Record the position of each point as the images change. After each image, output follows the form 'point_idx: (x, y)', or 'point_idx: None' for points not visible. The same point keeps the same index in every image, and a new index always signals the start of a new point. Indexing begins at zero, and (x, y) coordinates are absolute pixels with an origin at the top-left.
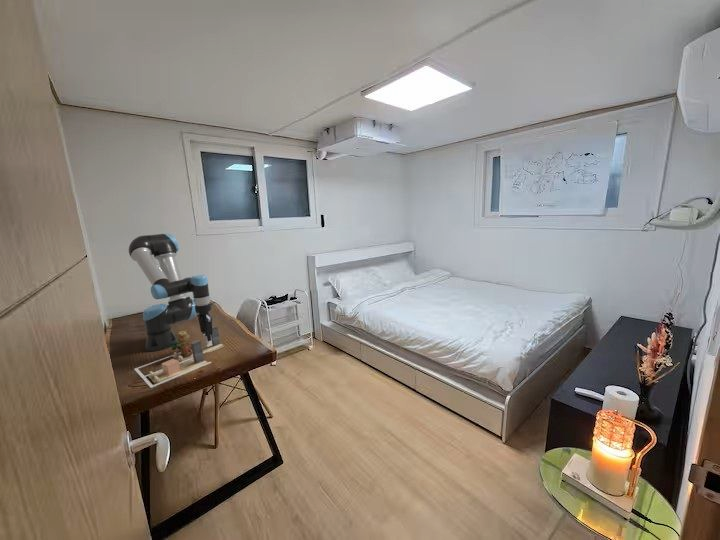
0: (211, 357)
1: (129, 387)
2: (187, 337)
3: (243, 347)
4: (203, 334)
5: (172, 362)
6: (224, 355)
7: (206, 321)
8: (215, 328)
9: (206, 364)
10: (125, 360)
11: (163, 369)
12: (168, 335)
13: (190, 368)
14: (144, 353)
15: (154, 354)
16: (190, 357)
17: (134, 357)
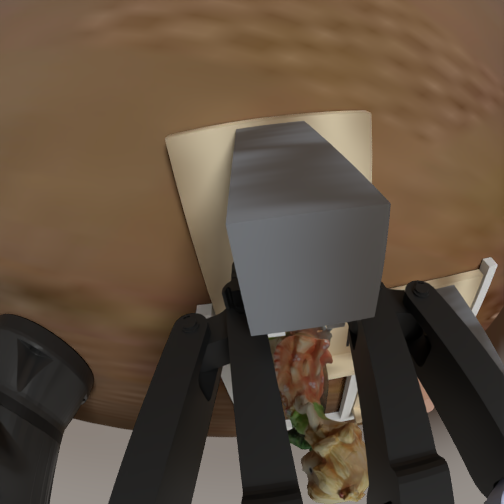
0: (434, 238)
1: (352, 422)
2: (361, 446)
3: (481, 38)
4: (274, 336)
5: (428, 404)
6: (479, 176)
7: (494, 487)
8: (380, 242)
9: (489, 284)
10: (131, 424)
11: None
12: (40, 391)
13: None
14: (98, 398)
15: (129, 390)
16: (345, 329)
17: (119, 413)
